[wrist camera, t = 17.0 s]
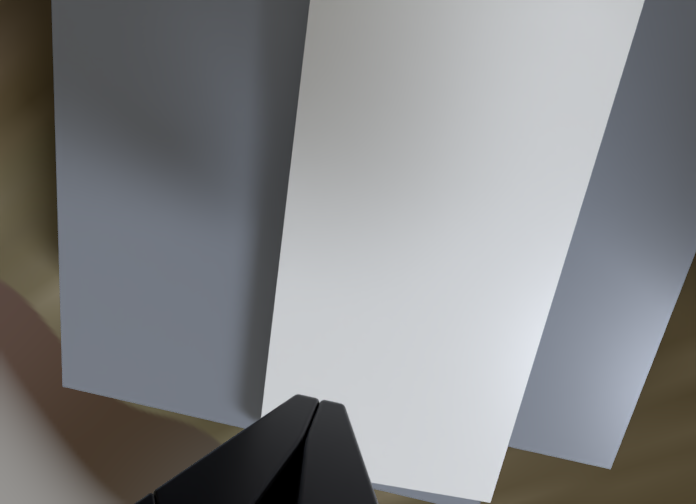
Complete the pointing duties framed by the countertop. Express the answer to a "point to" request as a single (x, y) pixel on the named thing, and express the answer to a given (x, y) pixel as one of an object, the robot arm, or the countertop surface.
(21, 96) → the countertop surface
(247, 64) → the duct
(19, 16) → the countertop surface
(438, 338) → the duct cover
